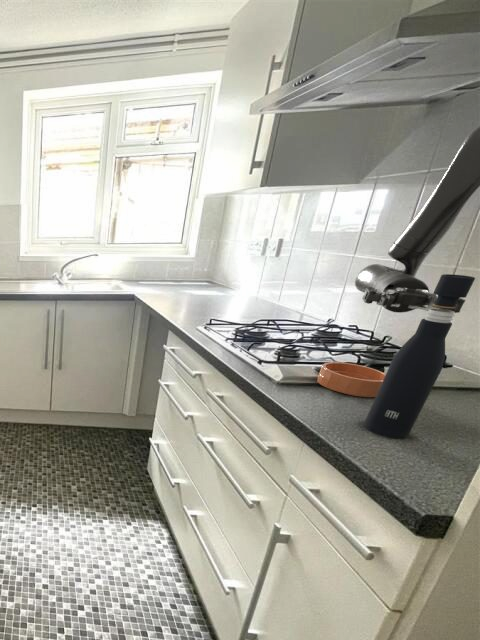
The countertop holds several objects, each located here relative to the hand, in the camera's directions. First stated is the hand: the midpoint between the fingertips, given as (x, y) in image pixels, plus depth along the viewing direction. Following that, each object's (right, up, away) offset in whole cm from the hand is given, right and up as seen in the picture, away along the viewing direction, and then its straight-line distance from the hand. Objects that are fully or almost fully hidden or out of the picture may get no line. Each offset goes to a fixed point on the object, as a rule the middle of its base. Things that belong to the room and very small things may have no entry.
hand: (419, 306), depth 81 cm
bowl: (+4, -16, +20) cm, 26 cm away
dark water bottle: (-6, -25, +1) cm, 26 cm away
